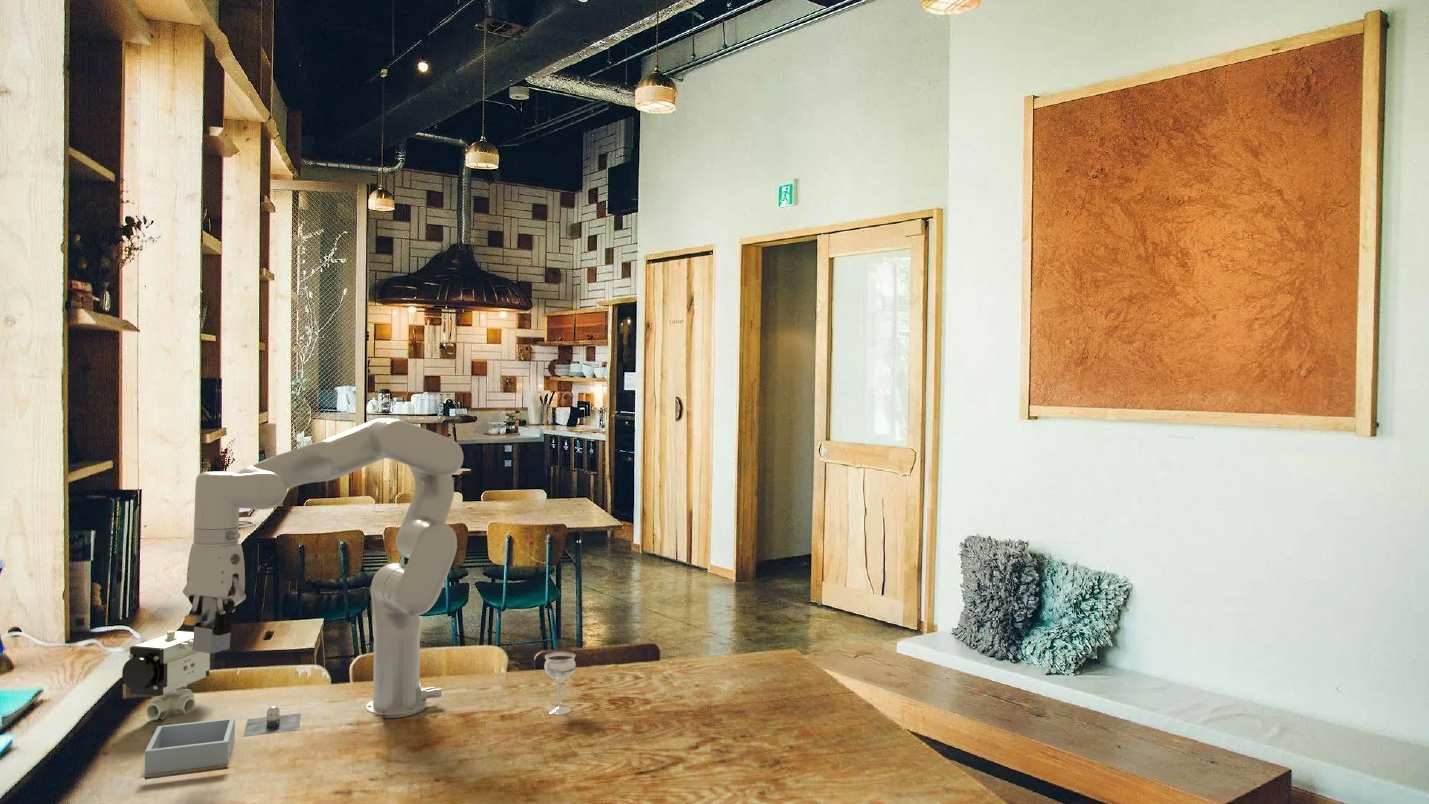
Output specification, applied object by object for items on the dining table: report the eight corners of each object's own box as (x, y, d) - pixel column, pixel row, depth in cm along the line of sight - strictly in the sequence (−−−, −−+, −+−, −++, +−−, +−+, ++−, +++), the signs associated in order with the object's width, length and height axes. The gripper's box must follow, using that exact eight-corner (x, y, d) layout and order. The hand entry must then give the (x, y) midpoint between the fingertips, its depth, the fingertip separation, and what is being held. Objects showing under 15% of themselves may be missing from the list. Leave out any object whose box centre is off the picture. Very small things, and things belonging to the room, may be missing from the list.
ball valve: (156, 732, 184) (156, 644, 183) (120, 728, 185) (120, 641, 185) (221, 703, 201) (222, 622, 201) (187, 699, 203) (188, 620, 203)
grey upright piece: (211, 645, 177) (216, 586, 177) (229, 648, 175) (234, 588, 176) (175, 654, 169) (181, 592, 169) (194, 657, 168) (199, 594, 168)
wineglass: (537, 713, 198) (538, 658, 198) (554, 703, 204) (555, 650, 204) (564, 717, 195) (565, 662, 195) (580, 707, 202) (581, 653, 202)
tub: (234, 743, 179) (234, 717, 179) (227, 769, 167) (227, 741, 167) (157, 752, 174) (157, 726, 174) (144, 779, 162) (144, 751, 162)
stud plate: (300, 718, 193) (301, 696, 193) (299, 734, 183) (299, 711, 183) (247, 724, 189) (248, 701, 189) (243, 741, 180) (243, 717, 180)
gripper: (266, 537, 175) (263, 632, 175) (198, 531, 180) (195, 623, 180) (235, 542, 168) (231, 642, 168) (165, 535, 173) (161, 632, 173)
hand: (212, 631), depth 174 cm, fingers closed on grey upright piece, 4 cm apart
